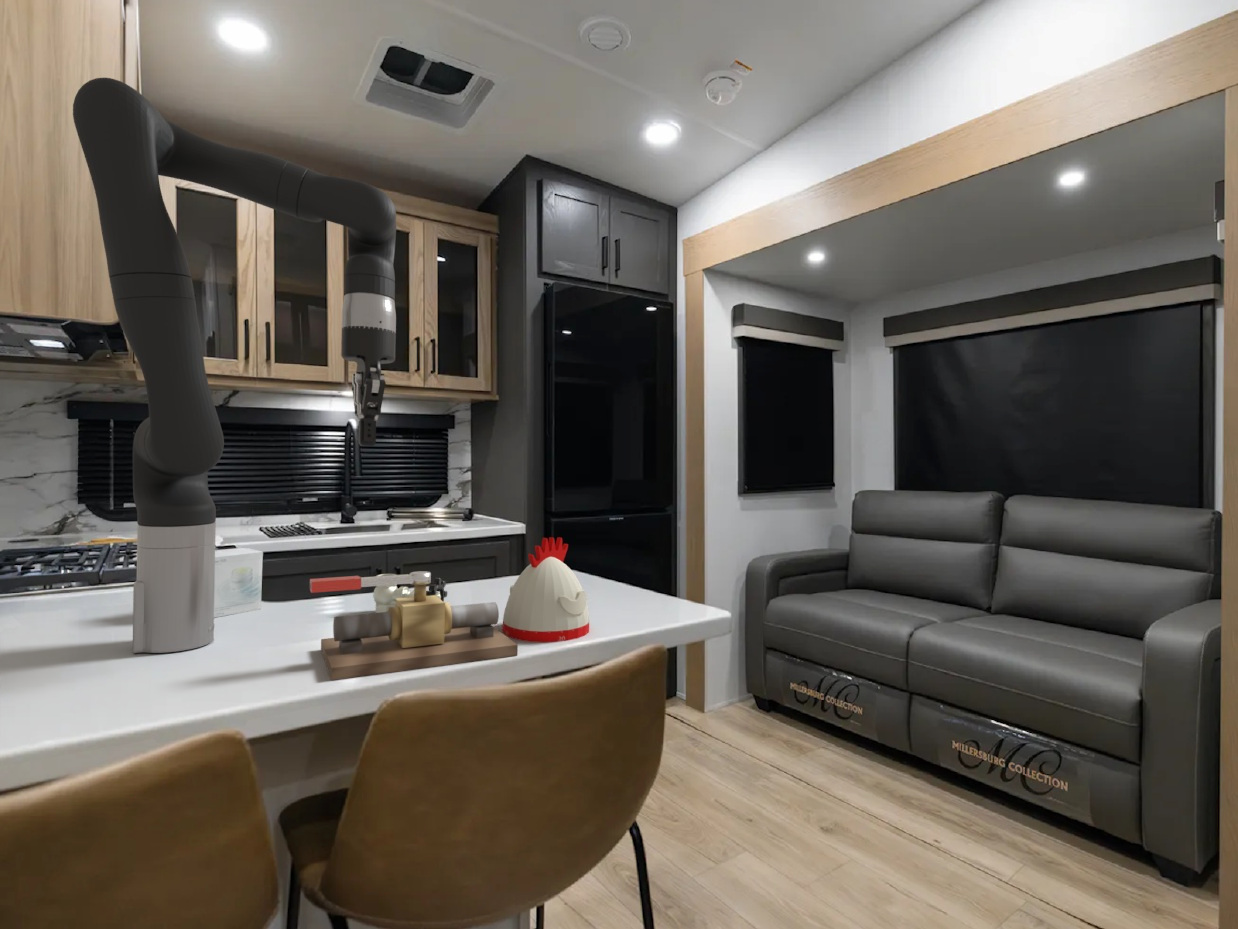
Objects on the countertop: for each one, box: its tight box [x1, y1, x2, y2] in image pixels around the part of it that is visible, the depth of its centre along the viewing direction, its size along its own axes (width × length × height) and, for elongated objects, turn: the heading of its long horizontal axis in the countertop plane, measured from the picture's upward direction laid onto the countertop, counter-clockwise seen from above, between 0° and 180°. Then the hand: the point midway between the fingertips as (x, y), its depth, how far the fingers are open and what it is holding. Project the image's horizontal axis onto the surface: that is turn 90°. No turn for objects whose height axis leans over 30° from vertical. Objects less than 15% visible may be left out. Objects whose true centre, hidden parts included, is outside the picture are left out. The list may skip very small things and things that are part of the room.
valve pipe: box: [320, 584, 519, 681], centre depth 92 cm, size 24×14×10 cm, turn 119°
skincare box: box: [214, 547, 264, 619], centre depth 112 cm, size 10×6×10 cm, turn 148°
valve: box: [372, 573, 448, 613], centre depth 114 cm, size 7×7×12 cm
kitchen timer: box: [502, 536, 590, 643], centre depth 106 cm, size 14×14×15 cm
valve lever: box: [309, 570, 432, 594], centre depth 89 cm, size 15×3×1 cm, turn 120°
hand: (366, 445), depth 98 cm, fingers closed
